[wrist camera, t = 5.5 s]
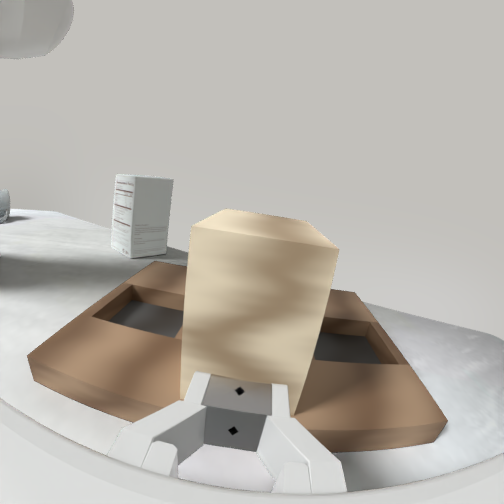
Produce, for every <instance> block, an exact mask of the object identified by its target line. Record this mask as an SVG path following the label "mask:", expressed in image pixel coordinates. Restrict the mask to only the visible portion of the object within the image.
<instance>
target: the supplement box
mask: <svg viewBox="0 0 504 504" xmlns="http://www.w3.org/2000/svg"><path fill="white" fill-rule="evenodd" d="M172 189H173V179H170V178H163V177H153V176H143V175H123V174H117V175H116V182H115V192H114V204H113V217H112V234H111V247H112V248H113V249H114V250H116V251H118V252H120V253H121V254H123V255H125V256H127V257H128V258H137V257H145V256H153V255H160V254H166V250H167V236H168V226H169V216H170V206H171V196H172Z"/></svg>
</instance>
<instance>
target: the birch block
mask: <svg viewBox="0 0 504 504" xmlns="http://www.w3.org/2000/svg"><path fill="white" fill-rule="evenodd" d="M338 253H339V249H338V248H337V247H336V246H335V245H334V244H333V243H331V242H330V241H329V240H328V239H327V238H326V237H324V236H323V235H322V234H321V233H320V232H319V231H318V230H316V229H315V228H314V227H313V226H312V225H310V224H309V223H308V222H307V221H302V220H296V219H290V218H284V217H278V216H271V215H265V214H259V213H253V212H246V211H239V210H233V209H224V210H222V211H220V212H218V213H216V214H214V215H212V216H210V217H208V218H206V219H204V220H202V221H200V222H198V223H196V224H194V225H192V226H191V234H190V244H189V253H188V263H187V275H186V286H185V299H184V314H183V330H182V351H181V379H180V399H184V398H185V396H186V393H187V391H188V388H189V385H190V383H191V380H192V378H193V375H194V373H195V372H196V371H200V372H205V373H210V374H215V375H220V376H225V377H230V378H235V379H241V380H246V381H253V382H261V383H269V384H272V383H273V384H284V385H287V386H288V394H289V405H290V416H294V413H295V410H296V407H297V404H298V401H299V398H300V395H301V392H302V389H303V386H304V383H305V380H306V377H307V373H308V370H309V367H310V364H311V360H312V357H313V353H314V350H315V346H316V343H317V339H318V336H319V332H320V328H321V325H322V321H323V317H324V313H325V309H326V305H327V301H328V297H329V293H330V289H331V285H332V281H333V276H334V272H335V267H336V263H337V258H338Z"/></svg>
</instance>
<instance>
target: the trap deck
mask: <svg viewBox="0 0 504 504" xmlns="http://www.w3.org/2000/svg"><path fill="white" fill-rule="evenodd" d="M186 275H187V267H186V266H181V265H175V264H169V263H164V262H158V261H154V262H152V263H151V264H150V265H148V266H147V267H145V268H144V269H142V270H141V271H139V272H138V273H137V274H135V275H134V276H132V277H131V278H129V279H128V280H127V281H125V282H124V283H122V284H121V285H120V286H118V287H117V288H115V289H114V290H113V291H111V292H110V293H108V294H107V295H106V296H104V297H103V298H102V299H100V300H99V301H97V302H96V303H95V304H93V305H92V306H91V307H89V308H88V309H87V310H85V311H84V312H83V313H81V314H80V315H79V316H77V317H76V318H75V319H73V320H72V321H71V322H69V323H68V324H67V325H65V326H64V327H63V328H61V329H60V330H59V331H58V332H56V333H55V334H54V335H52V336H51V337H50V338H49V339H47V340H46V341H45V342H43V343H42V344H41V345H40V346H38V347H37V348H36V349H35V350H33V351H32V352H31V353H30V354H28V355H27V358H28V361H29V365H30V369H31V372H32V375H33V379H34V381H36V382H38V383H40V384H42V385H44V386H46V387H48V388H50V389H52V390H54V391H56V392H58V393H60V394H62V395H64V396H66V397H69V398H71V399H73V400H75V401H78V402H80V403H82V404H85V405H87V406H90V407H92V408H95V409H97V410H100V411H102V412H105V413H108V414H110V415H113V416H116V417H119V418H122V419H125V420H128V421H131V422H136V421H138V420H140V419H143V418H145V417H147V416H149V415H151V414H153V413H155V412H157V411H159V410H161V409H163V408H165V407H167V406H169V405H171V404H173V403H175V402H176V401H178V400H181V401H184V399H180V379H181V351H182V330H183V314H184V299H185V286H186ZM290 417H291V418H295V419H296V420H297V421H298V422H299V423H300V424H301V425H302V426H303V427H304V428H305V429H306V430H308V431H309V432H310V433H311V434H312V435H313V436H314V437H315V438H316V439H317V440H318V441H319V442H320V443H321V444H322V445H323V446H324V447H325V448H326V449H327V450H329V451H330V452H356V451H371V450H383V449H392V448H400V447H408V446H414V445H420V444H426V443H432V442H434V441H435V439H436V438H437V436H438V435H439V434H440V432H441V431H442V429H443V428H444V426H445V425H446V423H447V422H448V420H447V419H446V417H445V416H444V414H443V413H442V411H441V409H440V408H439V406H438V405H437V404H436V402H435V401H434V399H433V398H432V396H431V395H430V393H429V392H428V390H427V389H426V387H425V386H424V385H423V383H422V382H421V380H420V379H419V377H418V376H417V375H416V373H415V372H414V370H413V369H412V367H411V366H410V365H409V363H408V362H407V361H406V359H405V358H404V356H403V355H402V354H401V352H400V351H399V350H398V348H397V347H396V345H395V344H394V343H393V341H392V340H391V339H390V337H389V336H388V335H387V333H386V332H385V331H384V329H383V328H382V327H381V325H380V324H379V323H378V322H377V320H376V319H375V318H374V316H373V315H372V314H371V312H370V311H369V310H368V309H367V307H366V306H365V305H364V303H363V302H362V301H361V300H360V298H359V297H358V296H357V295H356V293H355V292H348V291H341V290H334V289H330V293H329V297H328V301H327V305H326V309H325V313H324V317H323V321H322V325H321V328H320V332H319V336H318V339H317V343H316V346H315V350H314V353H313V357H312V360H311V364H310V367H309V370H308V373H307V377H306V380H305V383H304V386H303V389H302V392H301V395H300V398H299V401H298V404H297V407H296V410H295V413H294V416H290Z"/></svg>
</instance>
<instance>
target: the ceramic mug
mask: <svg viewBox="0 0 504 504" xmlns="http://www.w3.org/2000/svg"><path fill="white" fill-rule="evenodd" d="M9 214H10V197H9V192H8V190H7V189H4V190H0V223H3V222H5V221H6V220H7V219H8V218H9Z"/></svg>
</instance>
